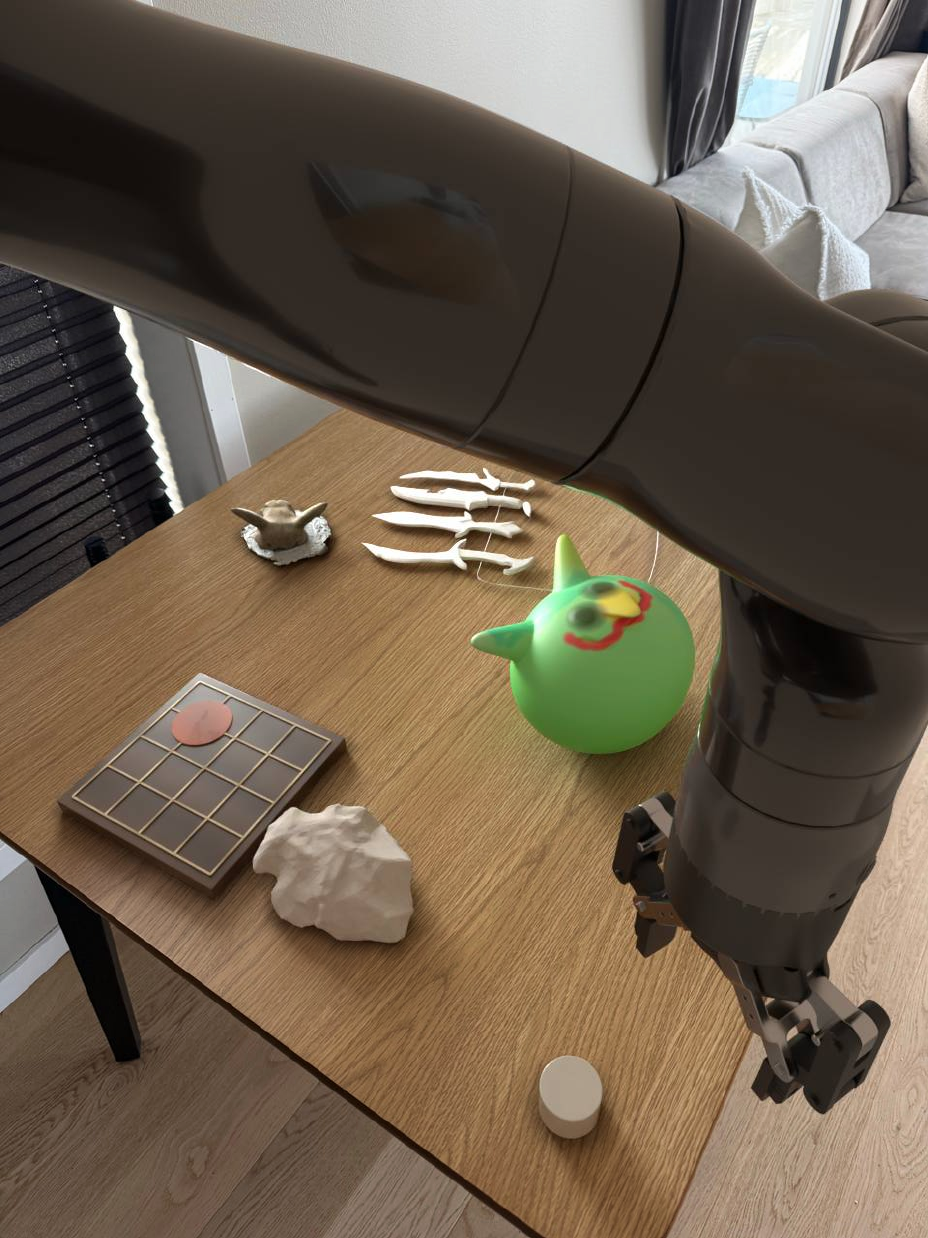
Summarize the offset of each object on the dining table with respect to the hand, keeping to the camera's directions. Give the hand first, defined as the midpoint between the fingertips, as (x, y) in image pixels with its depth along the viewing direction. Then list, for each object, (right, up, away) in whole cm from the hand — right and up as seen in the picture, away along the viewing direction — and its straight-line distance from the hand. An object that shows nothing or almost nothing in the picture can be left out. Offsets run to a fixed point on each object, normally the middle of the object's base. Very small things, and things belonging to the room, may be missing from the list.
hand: (709, 1011), depth 46 cm
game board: (-36, +6, +34) cm, 50 cm away
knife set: (-7, +32, +63) cm, 71 cm away
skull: (-34, +30, +62) cm, 77 cm away
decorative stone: (-23, -1, +26) cm, 34 cm away
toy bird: (0, +11, +39) cm, 41 cm away
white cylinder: (-6, -12, +13) cm, 18 cm away
